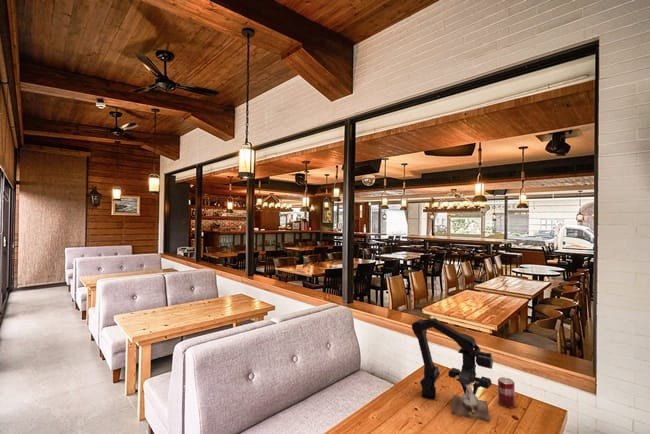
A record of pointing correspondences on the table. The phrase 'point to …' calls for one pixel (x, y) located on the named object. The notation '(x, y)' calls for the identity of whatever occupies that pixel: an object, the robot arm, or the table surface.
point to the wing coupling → (469, 399)
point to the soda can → (506, 392)
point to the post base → (479, 413)
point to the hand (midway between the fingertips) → (469, 395)
